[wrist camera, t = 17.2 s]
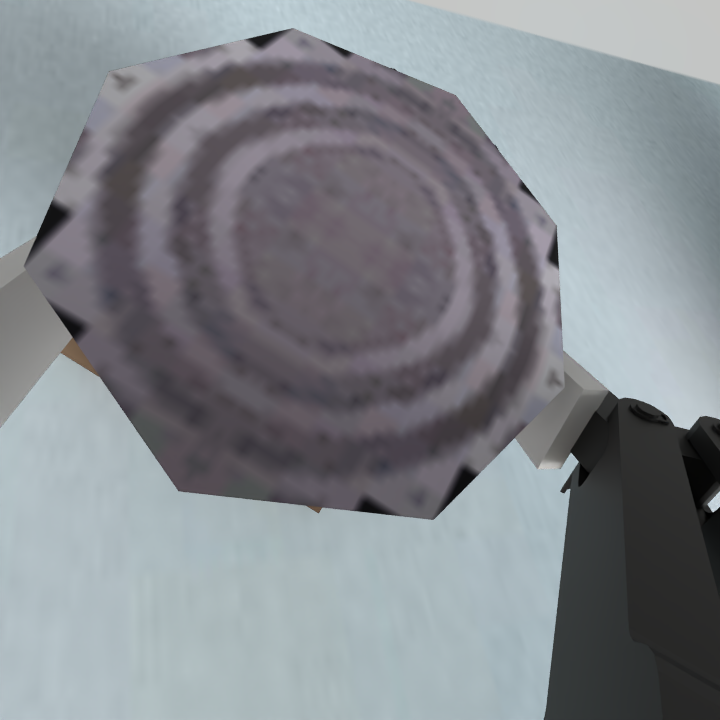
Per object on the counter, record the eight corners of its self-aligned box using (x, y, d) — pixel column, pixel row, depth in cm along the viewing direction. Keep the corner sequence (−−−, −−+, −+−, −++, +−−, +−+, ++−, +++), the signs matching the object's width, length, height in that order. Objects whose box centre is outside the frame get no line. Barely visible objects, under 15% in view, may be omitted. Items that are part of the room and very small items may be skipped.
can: (113, 331, 18) (-124, 130, 7) (310, 207, 22) (379, -59, 10) (279, 530, 18) (330, 672, 7) (447, 372, 22) (664, 290, 10)
